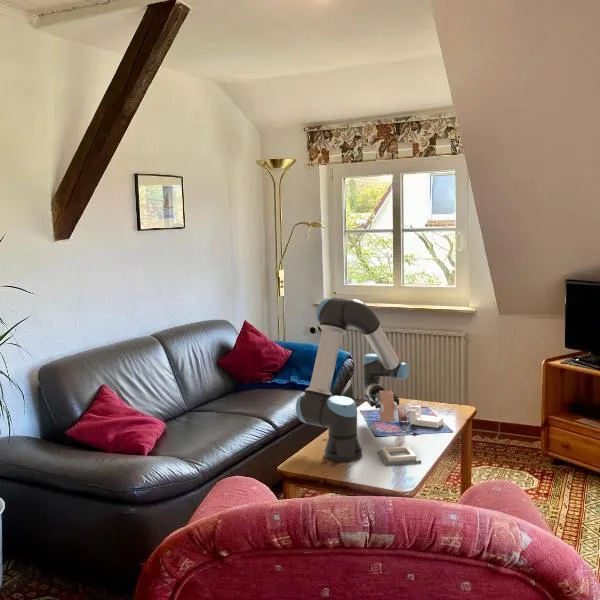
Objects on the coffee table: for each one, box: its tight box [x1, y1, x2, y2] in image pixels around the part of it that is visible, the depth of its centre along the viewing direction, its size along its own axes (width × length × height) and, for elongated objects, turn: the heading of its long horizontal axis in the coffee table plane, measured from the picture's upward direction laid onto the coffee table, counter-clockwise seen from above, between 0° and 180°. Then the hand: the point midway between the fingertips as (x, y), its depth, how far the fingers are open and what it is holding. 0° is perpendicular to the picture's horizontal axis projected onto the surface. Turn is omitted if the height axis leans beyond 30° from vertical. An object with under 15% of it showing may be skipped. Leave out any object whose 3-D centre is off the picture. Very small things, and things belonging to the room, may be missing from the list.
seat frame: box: [376, 445, 422, 466], centre depth 264 cm, size 14×14×2 cm
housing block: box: [378, 389, 395, 423], centre depth 281 cm, size 5×5×12 cm
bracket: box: [409, 405, 444, 429], centre depth 302 cm, size 13×7×8 cm, turn 60°
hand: (389, 408), depth 276 cm, fingers closed on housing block, 5 cm apart
